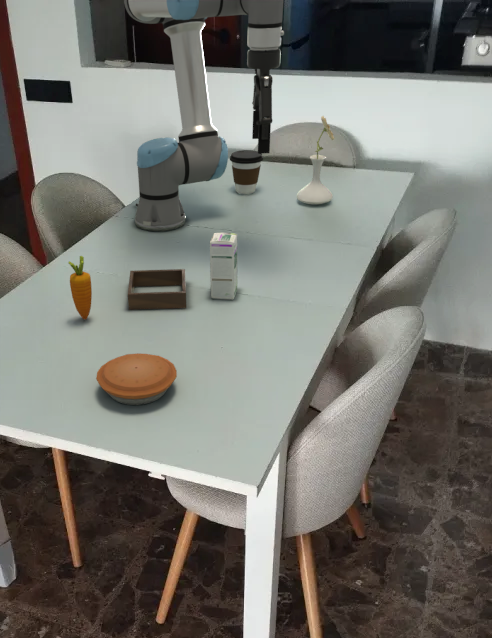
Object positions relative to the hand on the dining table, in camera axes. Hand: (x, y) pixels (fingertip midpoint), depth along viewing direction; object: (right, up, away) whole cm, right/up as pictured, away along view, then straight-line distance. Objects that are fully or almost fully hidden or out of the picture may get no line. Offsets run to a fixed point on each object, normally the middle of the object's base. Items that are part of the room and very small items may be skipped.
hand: (260, 145), depth 172 cm
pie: (-28, -62, -35) cm, 76 cm away
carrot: (-42, -44, -10) cm, 62 cm away
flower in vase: (+24, +3, +52) cm, 57 cm away
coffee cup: (+2, +9, +62) cm, 63 cm away
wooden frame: (-25, -37, -1) cm, 45 cm away
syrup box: (-9, -37, -1) cm, 38 cm away
